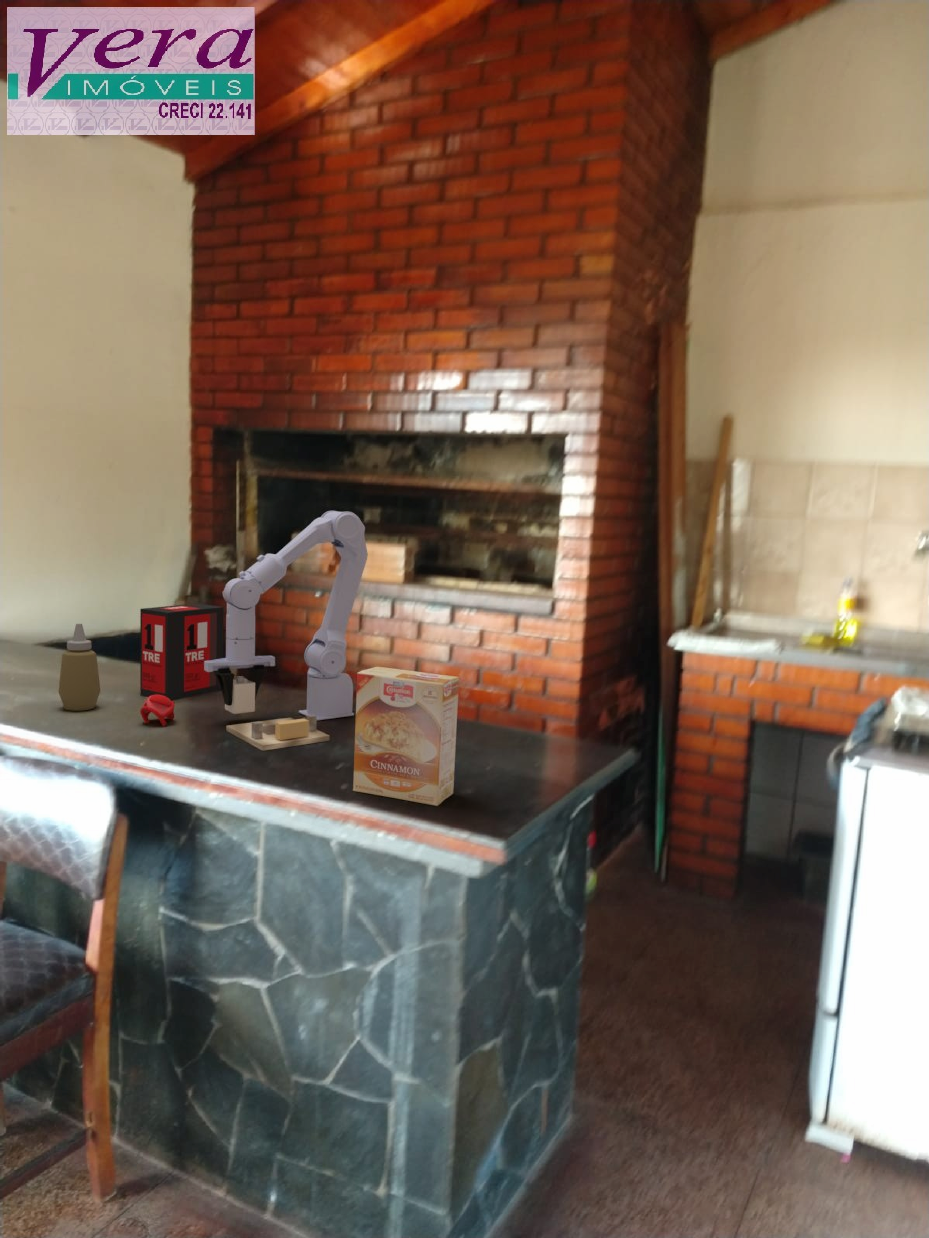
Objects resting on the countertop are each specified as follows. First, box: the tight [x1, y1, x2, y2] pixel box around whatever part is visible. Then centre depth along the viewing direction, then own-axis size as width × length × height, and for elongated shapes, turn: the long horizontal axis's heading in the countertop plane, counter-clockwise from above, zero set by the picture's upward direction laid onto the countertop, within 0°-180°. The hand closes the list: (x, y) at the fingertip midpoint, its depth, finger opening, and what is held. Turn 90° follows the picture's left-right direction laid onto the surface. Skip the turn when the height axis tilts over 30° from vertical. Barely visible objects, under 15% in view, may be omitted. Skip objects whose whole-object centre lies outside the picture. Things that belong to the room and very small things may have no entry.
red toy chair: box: [139, 695, 175, 727], centre depth 171 cm, size 8×6×6 cm
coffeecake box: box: [352, 666, 460, 807], centre depth 136 cm, size 15×7×20 cm, turn 69°
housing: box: [224, 675, 256, 715], centre depth 174 cm, size 4×4×7 cm
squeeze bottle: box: [58, 623, 101, 712], centre depth 179 cm, size 8×8×18 cm
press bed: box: [225, 714, 330, 752], centre depth 166 cm, size 14×16×4 cm
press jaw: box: [275, 718, 309, 740], centre depth 161 cm, size 6×2×3 cm, turn 129°
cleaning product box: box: [139, 603, 225, 702], centre depth 197 cm, size 16×9×20 cm, turn 150°
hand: (239, 702), depth 175 cm, fingers closed on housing, 4 cm apart
